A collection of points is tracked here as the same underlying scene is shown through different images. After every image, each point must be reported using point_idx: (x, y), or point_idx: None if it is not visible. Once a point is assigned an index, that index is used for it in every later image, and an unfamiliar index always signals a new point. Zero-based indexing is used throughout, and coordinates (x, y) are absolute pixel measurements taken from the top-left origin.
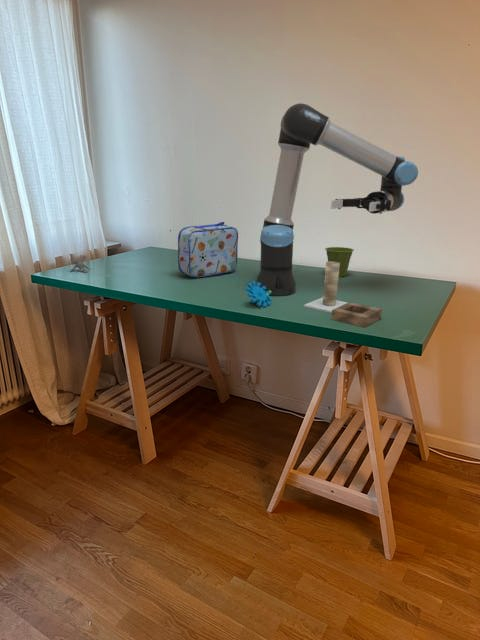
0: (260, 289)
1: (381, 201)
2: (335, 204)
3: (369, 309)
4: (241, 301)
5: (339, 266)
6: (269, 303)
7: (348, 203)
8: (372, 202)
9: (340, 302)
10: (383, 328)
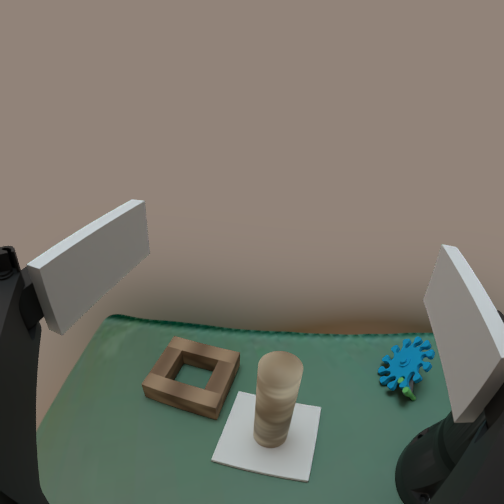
0: (413, 365)
1: (18, 265)
2: (440, 292)
3: (167, 379)
4: (432, 377)
5: (257, 375)
6: (381, 379)
7: (460, 474)
8: (121, 211)
9: (247, 458)
10: (145, 353)
